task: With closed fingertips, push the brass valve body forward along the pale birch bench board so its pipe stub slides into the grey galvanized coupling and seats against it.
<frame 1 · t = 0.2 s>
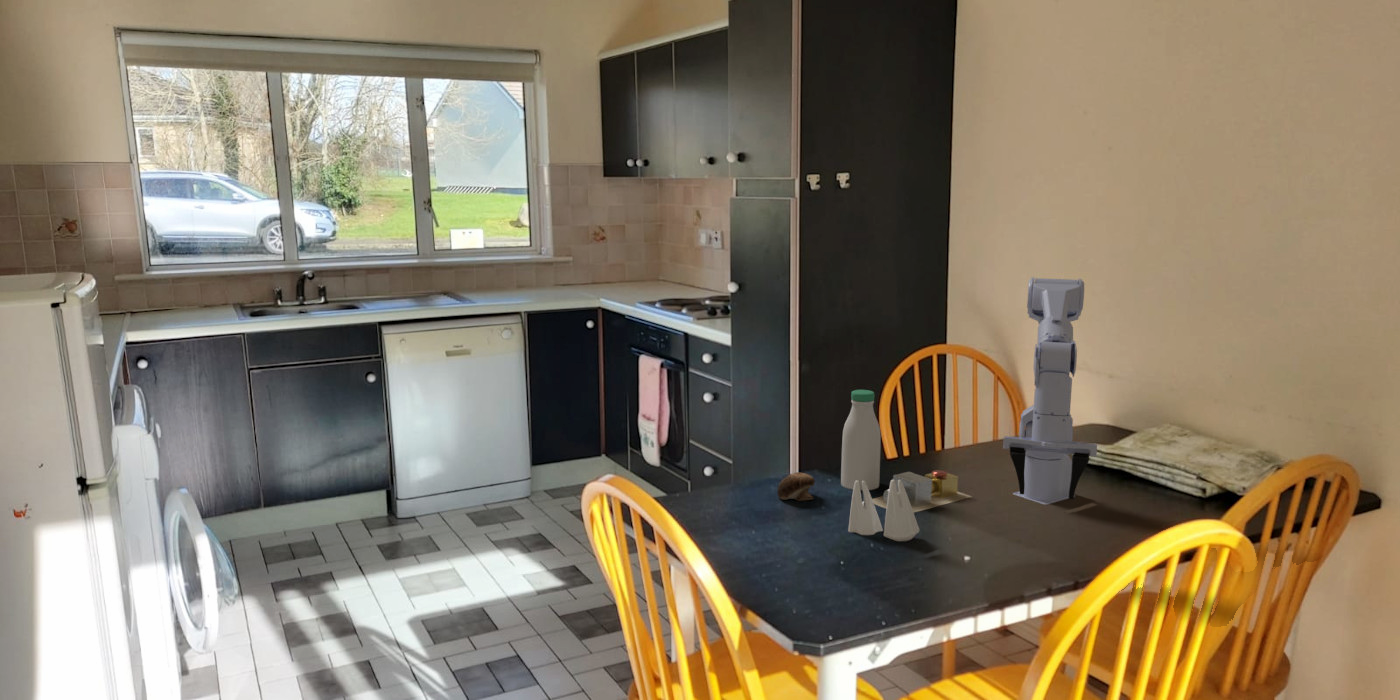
hand: (1046, 495, 162), 11 cm above the table, tool pointing down, fingers open, 7 cm apart
milk bottle: (859, 488, 200), on the table
mushroom: (796, 501, 192), on the table
bench board: (919, 501, 191), on the table
coupling: (910, 500, 190), resting on bench board
salt and pepper shakers: (883, 539, 172), on the table
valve: (940, 493, 194), point 1 cm above the table, touching bench board
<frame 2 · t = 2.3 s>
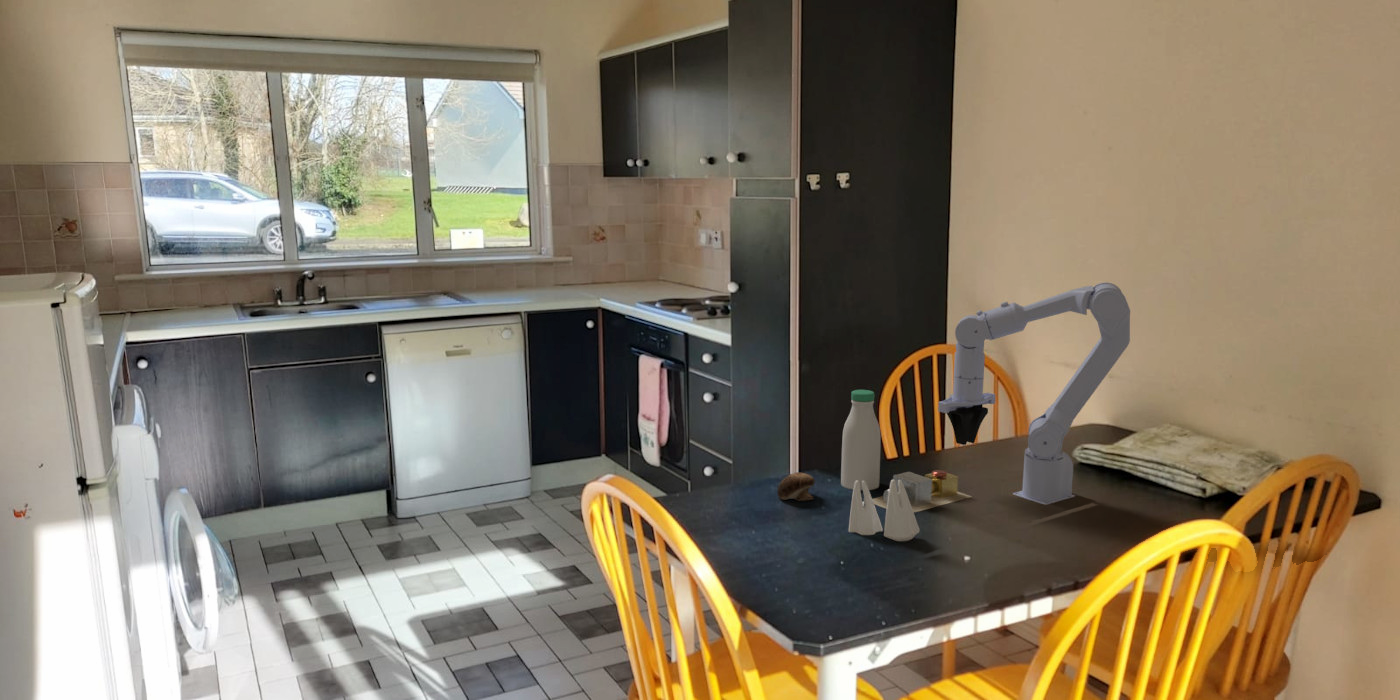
hand: (965, 442, 196), 10 cm above the table, tool pointing down, fingers closed
nothing on the table moved.
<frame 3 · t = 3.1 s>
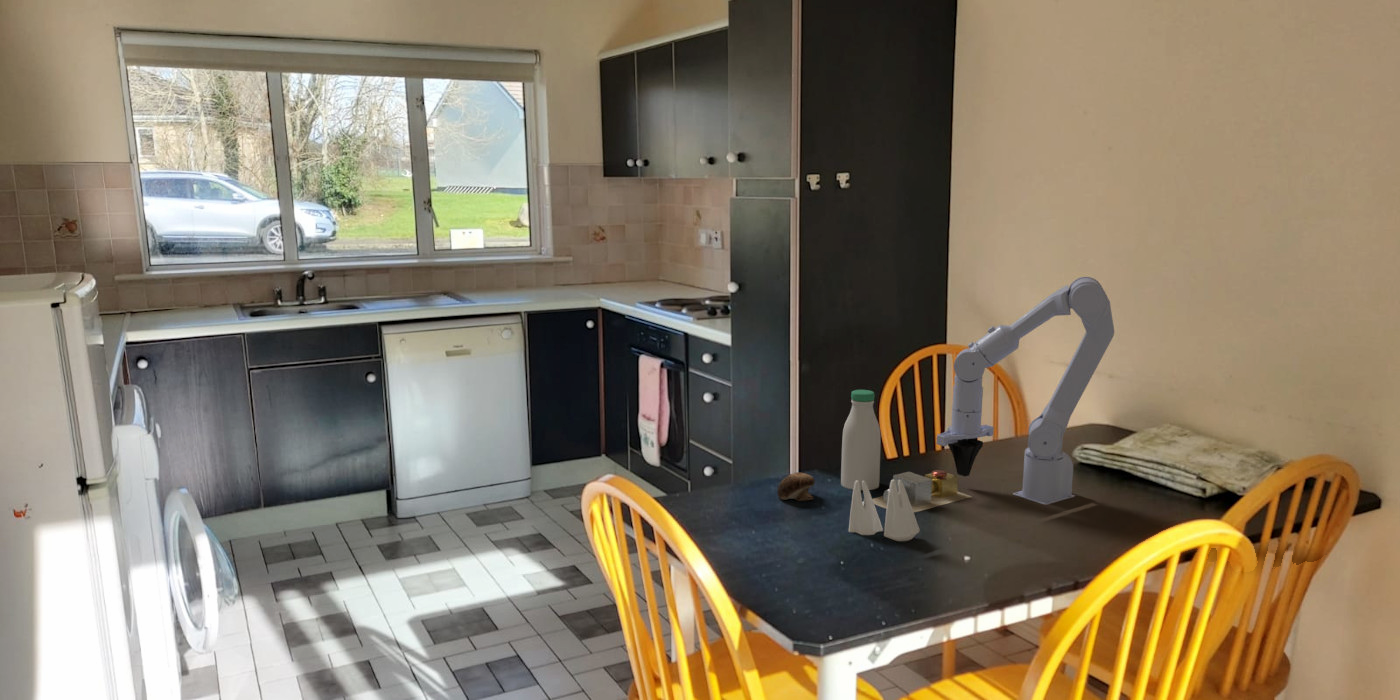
hand: (963, 474, 198), 3 cm above the table, tool pointing down, fingers closed
nothing on the table moved.
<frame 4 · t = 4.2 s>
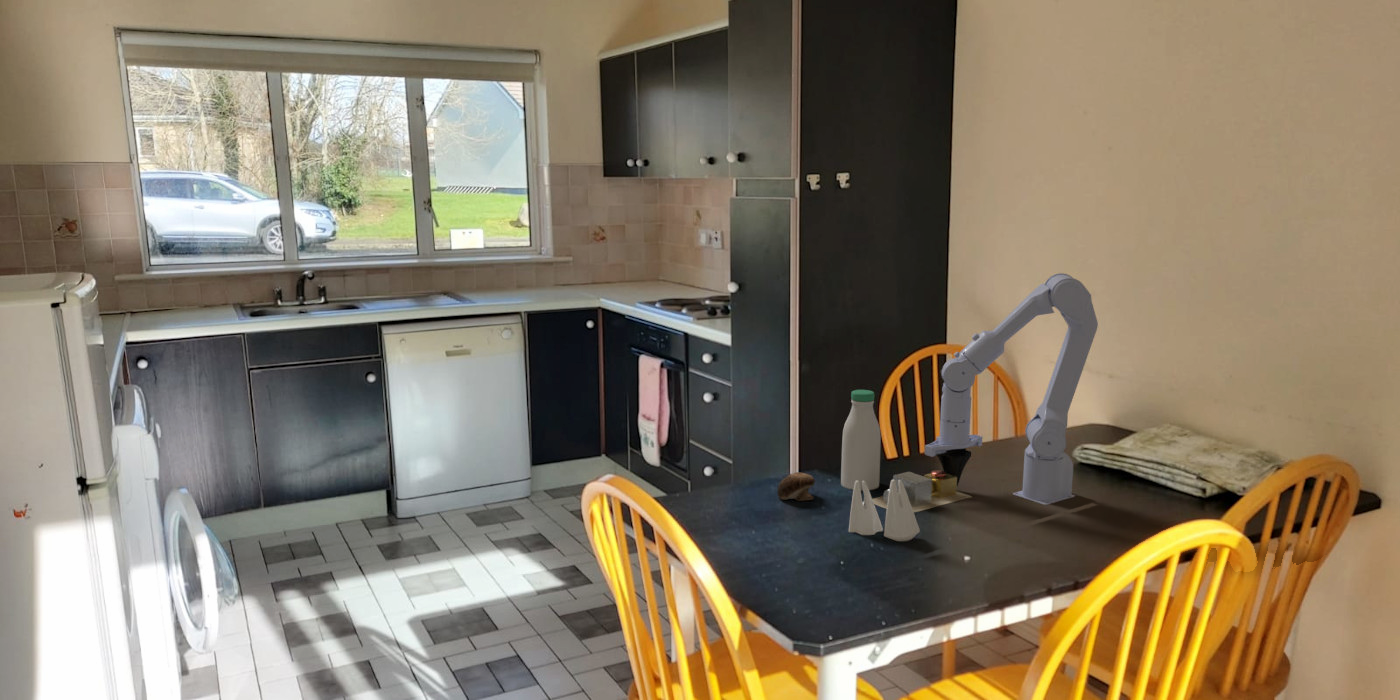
hand: (951, 485, 196), 2 cm above the table, tool pointing down, fingers closed
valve: (939, 493, 194), point 1 cm above the table, touching bench board, gripper
everything else where it was.
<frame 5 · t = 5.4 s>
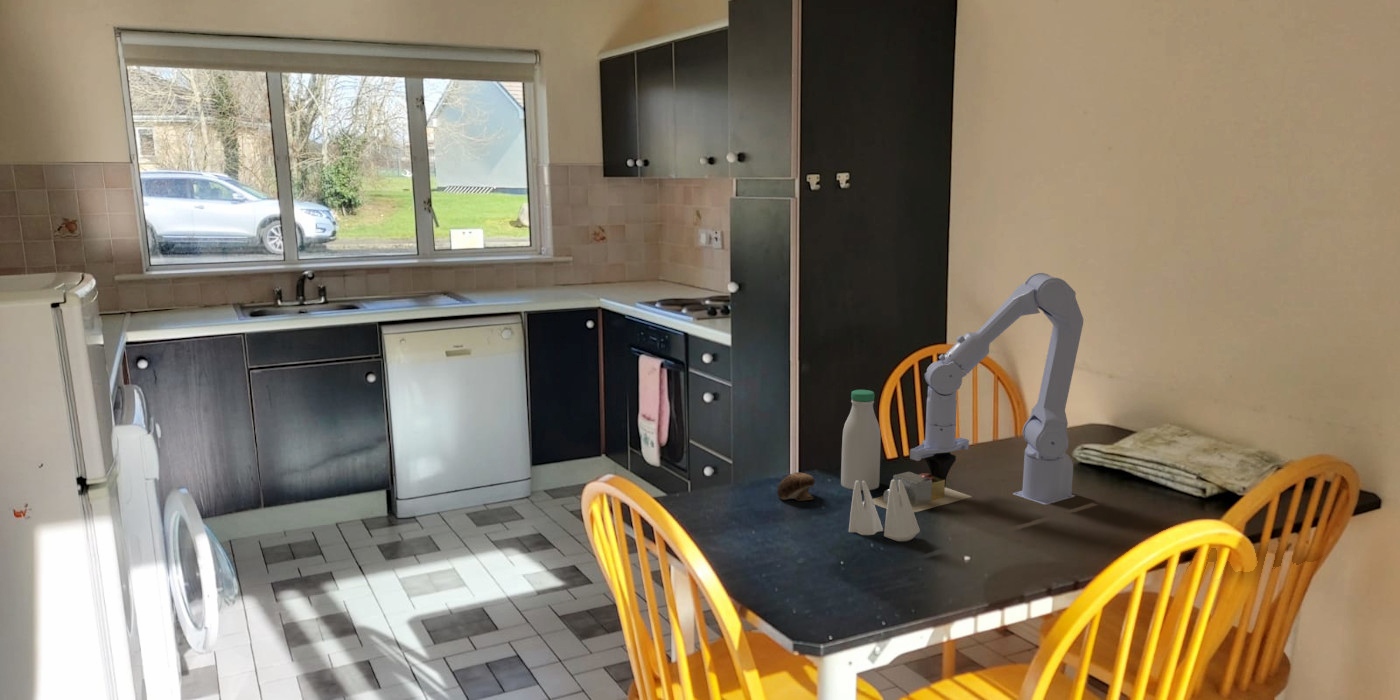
hand: (938, 489, 194), 2 cm above the table, tool pointing down, fingers closed
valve: (927, 496, 192), point 1 cm above the table, touching bench board, coupling, gripper
everything else where it was.
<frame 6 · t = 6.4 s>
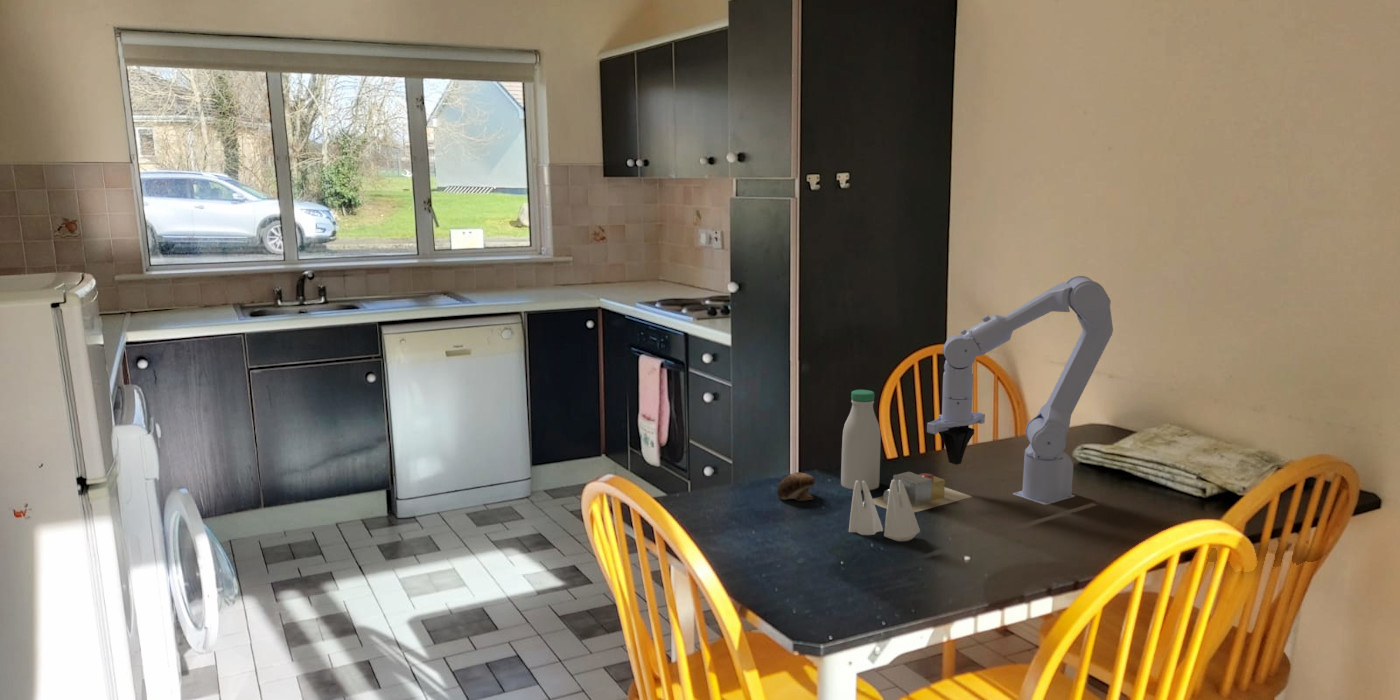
hand: (954, 463, 195), 6 cm above the table, tool pointing down, fingers closed
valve: (927, 496, 192), point 1 cm above the table, touching bench board
everything else where it was.
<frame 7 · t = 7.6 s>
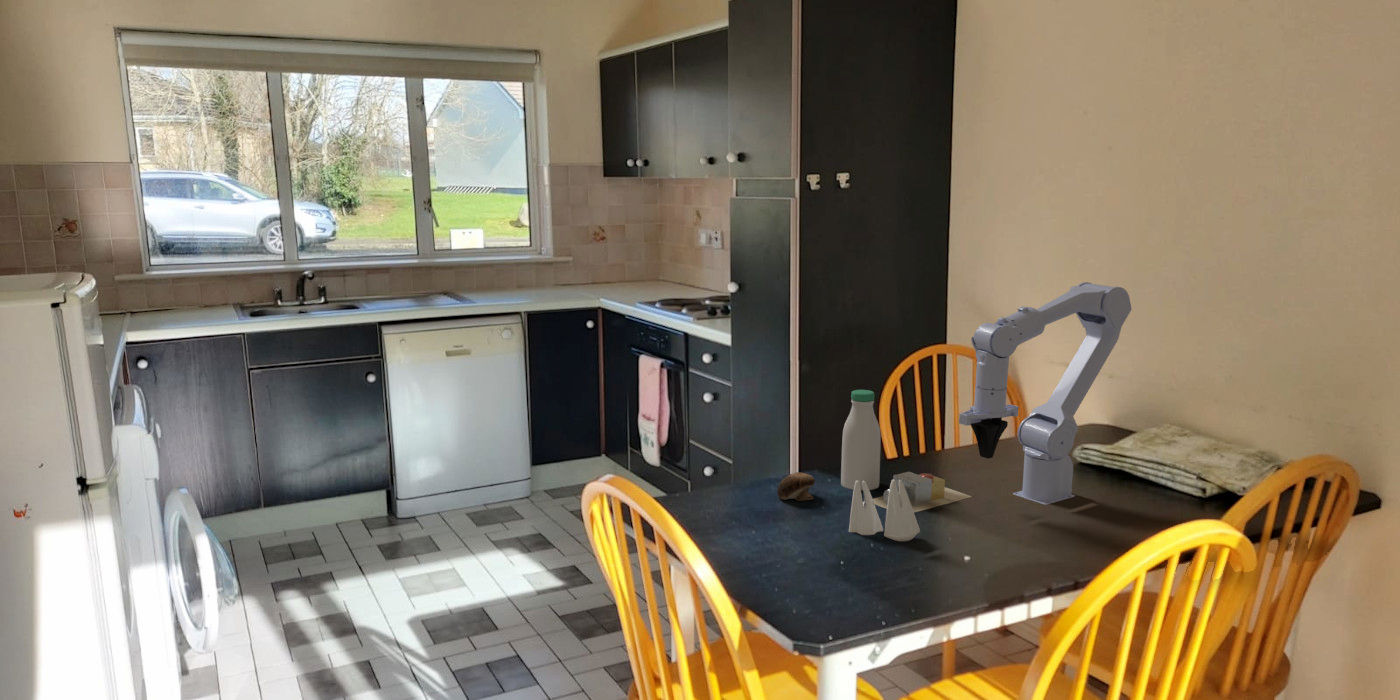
hand: (986, 456, 187), 10 cm above the table, tool pointing down, fingers closed
nothing on the table moved.
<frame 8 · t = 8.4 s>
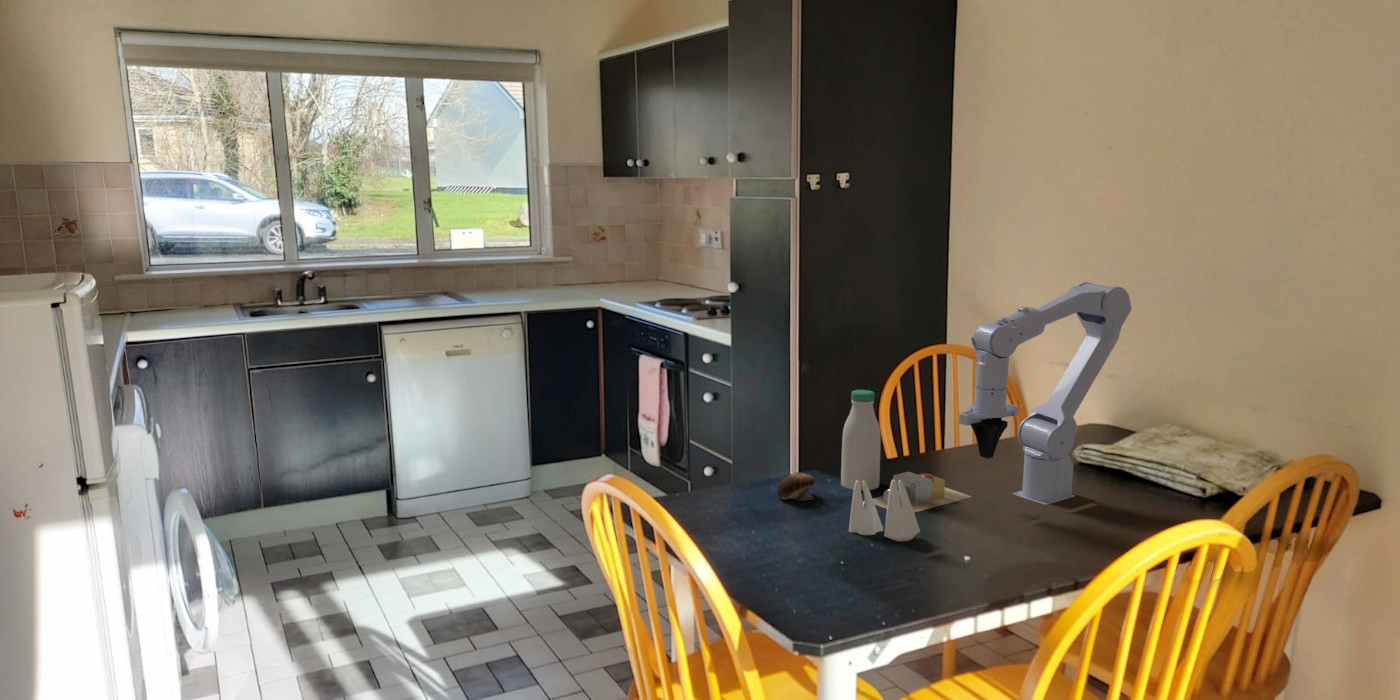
hand: (986, 456, 187), 10 cm above the table, tool pointing down, fingers closed
nothing on the table moved.
at the end: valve 0.0 cm from the target spot on the coupling, point 0.0 cm above the coupling's base; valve tilted 0° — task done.
